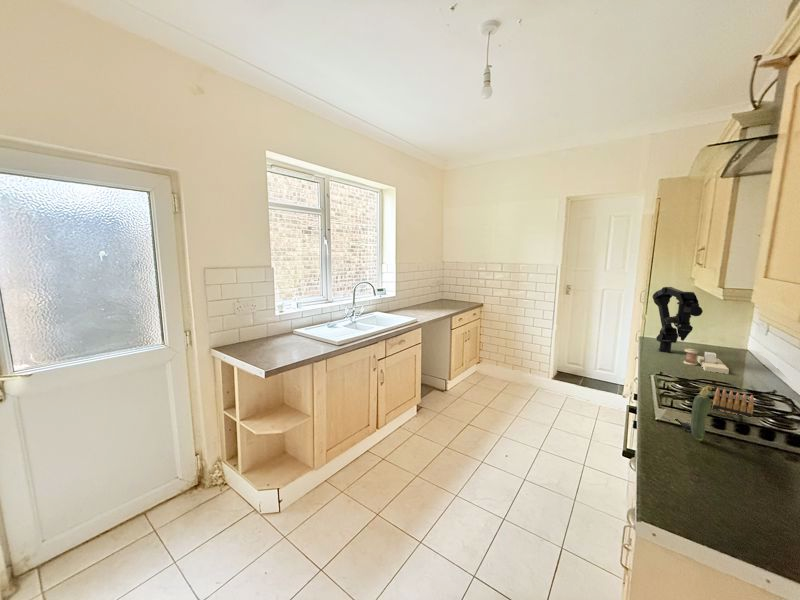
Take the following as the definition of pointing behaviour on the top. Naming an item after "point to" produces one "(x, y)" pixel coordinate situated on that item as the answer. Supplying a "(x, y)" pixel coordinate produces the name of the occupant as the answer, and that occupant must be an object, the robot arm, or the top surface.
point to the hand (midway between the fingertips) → (680, 338)
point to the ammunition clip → (728, 406)
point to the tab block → (709, 357)
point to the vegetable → (700, 413)
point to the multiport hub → (685, 425)
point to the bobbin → (691, 357)
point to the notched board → (713, 366)
